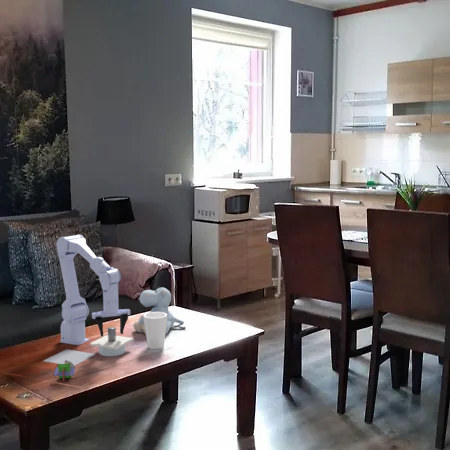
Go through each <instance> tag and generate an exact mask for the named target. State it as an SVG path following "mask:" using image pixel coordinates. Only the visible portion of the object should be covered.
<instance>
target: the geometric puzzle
mask: <svg viewBox="0 0 450 450" xmlns="http://www.w3.org/2000/svg"><path fill="white" fill-rule="evenodd" d="M75 370H76V365H75V366H74V365H73V363H72V362H69V361H67V360H65V364H57V363H56V366H55V370H54V372H53V373H54V374H53V377H56V379H58V380H59V379H62V381H63V383H64V382H67V381H68V379H72V377H74V376H75ZM65 379H66V380H65Z"/></svg>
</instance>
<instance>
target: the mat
mask: <svg viewBox="0 0 450 450" xmlns="http://www.w3.org/2000/svg"><path fill="white" fill-rule="evenodd" d="M96 355H97V354H96V353H91V352H85V351H81V350H80V351H79V350H72V349H65V350H62V351H60V352H58V353H56V354H54V355H51V356H50V357H48V358H46V359H44V360H43V362H46V363H51V364H56V365H57V364H65V360H67V361H69V362H72V363H73V365H74V366H75V367H76V366H77V365H78V364H81V363H82V362H84V361H86V360H88V359H90V358H91V357H94V356H96Z"/></svg>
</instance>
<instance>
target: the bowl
mask: <svg viewBox="0 0 450 450" xmlns="http://www.w3.org/2000/svg"><path fill="white" fill-rule="evenodd" d="M125 353H126V345H124V346H122V347H120V348H118V349H110V348H104V347H98V354H99V355H101V356H103V357H104V356H105V357H116V356H120V355H123V354H125Z"/></svg>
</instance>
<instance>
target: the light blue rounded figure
mask: <svg viewBox="0 0 450 450" xmlns="http://www.w3.org/2000/svg"><path fill="white" fill-rule="evenodd" d="M139 302H140V304H141V305H142V306H144V307H146V308H151V307H152V308H151V310H150V312H164V313H166V314H167V324H166V332H165V336H166V335H167V334H168V333H169V331H170V329H171V328H173V327H174V328H178V329H184V330H185V329H186V326H180V325H181V324H182V325H183V324H184V323H185V322H184V320H181V319H178V318H176V317H175V316H174V315H173V314H172V313H171V312H170V311H169V306H170V304H171V302H172V294H171V292H170V290H168V289H167V288H165V287H158V288H157V289H156V290H152V289H146V290H145V289H144V290H143V291H141V293H140V295H139ZM143 315H144V314H143ZM143 315H141V316H140V317H139V319H138V321H135V322H133V324H132V327H133V329H134V331H136V332H137V333H140V334H145V335H146V330H145V324H144V319H143ZM175 323H178V324H180V325H174V324H175Z"/></svg>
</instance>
